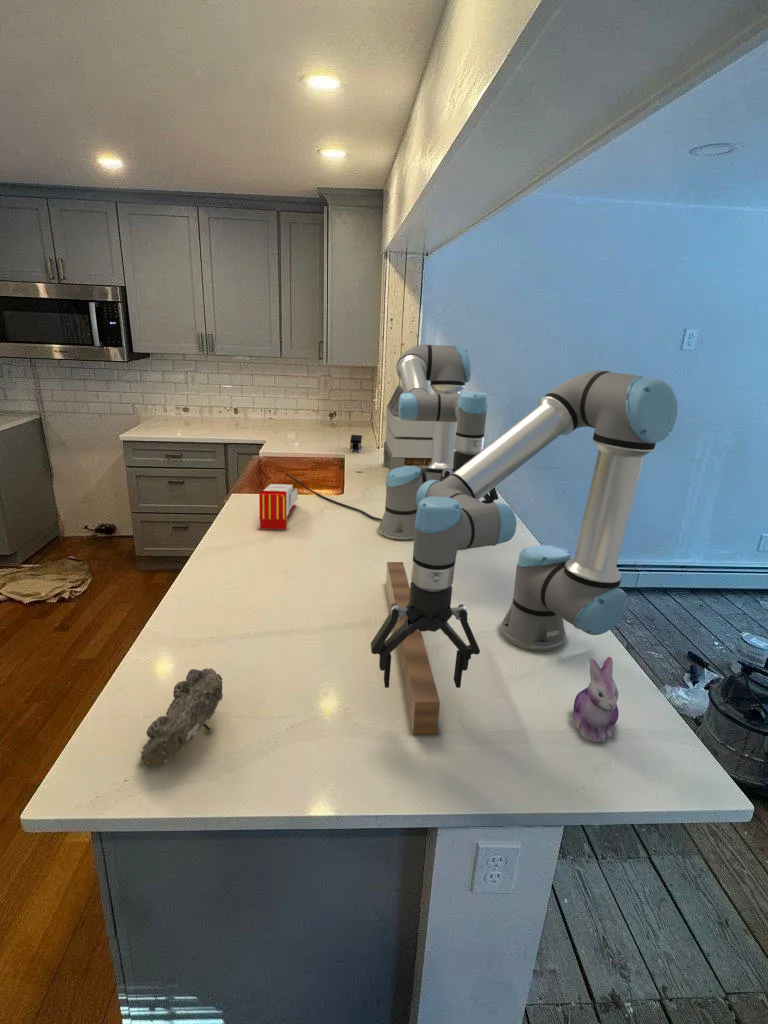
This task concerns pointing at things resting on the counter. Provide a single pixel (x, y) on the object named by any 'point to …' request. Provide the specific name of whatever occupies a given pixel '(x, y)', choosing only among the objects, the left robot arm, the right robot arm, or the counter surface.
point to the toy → (276, 505)
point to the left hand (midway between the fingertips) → (461, 525)
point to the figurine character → (355, 442)
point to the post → (413, 660)
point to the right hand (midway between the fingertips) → (421, 683)
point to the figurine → (597, 703)
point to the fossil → (183, 716)
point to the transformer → (406, 438)
